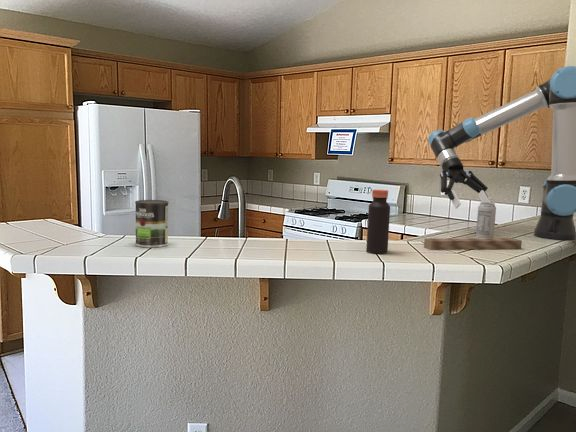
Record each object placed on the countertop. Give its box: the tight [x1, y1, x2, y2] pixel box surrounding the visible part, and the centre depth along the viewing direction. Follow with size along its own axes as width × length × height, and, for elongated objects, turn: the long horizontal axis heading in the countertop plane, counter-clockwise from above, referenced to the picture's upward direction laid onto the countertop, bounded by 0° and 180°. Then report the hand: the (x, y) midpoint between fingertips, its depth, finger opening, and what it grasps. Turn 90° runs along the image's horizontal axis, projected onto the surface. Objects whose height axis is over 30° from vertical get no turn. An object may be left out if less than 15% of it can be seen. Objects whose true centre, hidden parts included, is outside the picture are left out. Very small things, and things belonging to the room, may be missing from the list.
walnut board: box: [423, 237, 523, 251], centre depth 177 cm, size 34×5×3 cm, turn 101°
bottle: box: [365, 189, 391, 255], centre depth 164 cm, size 7×7×20 cm
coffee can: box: [134, 199, 169, 249], centre depth 165 cm, size 10×10×14 cm
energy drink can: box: [475, 201, 497, 238], centre depth 186 cm, size 6×6×15 cm
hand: (473, 206), depth 190 cm, fingers open, 13 cm apart
